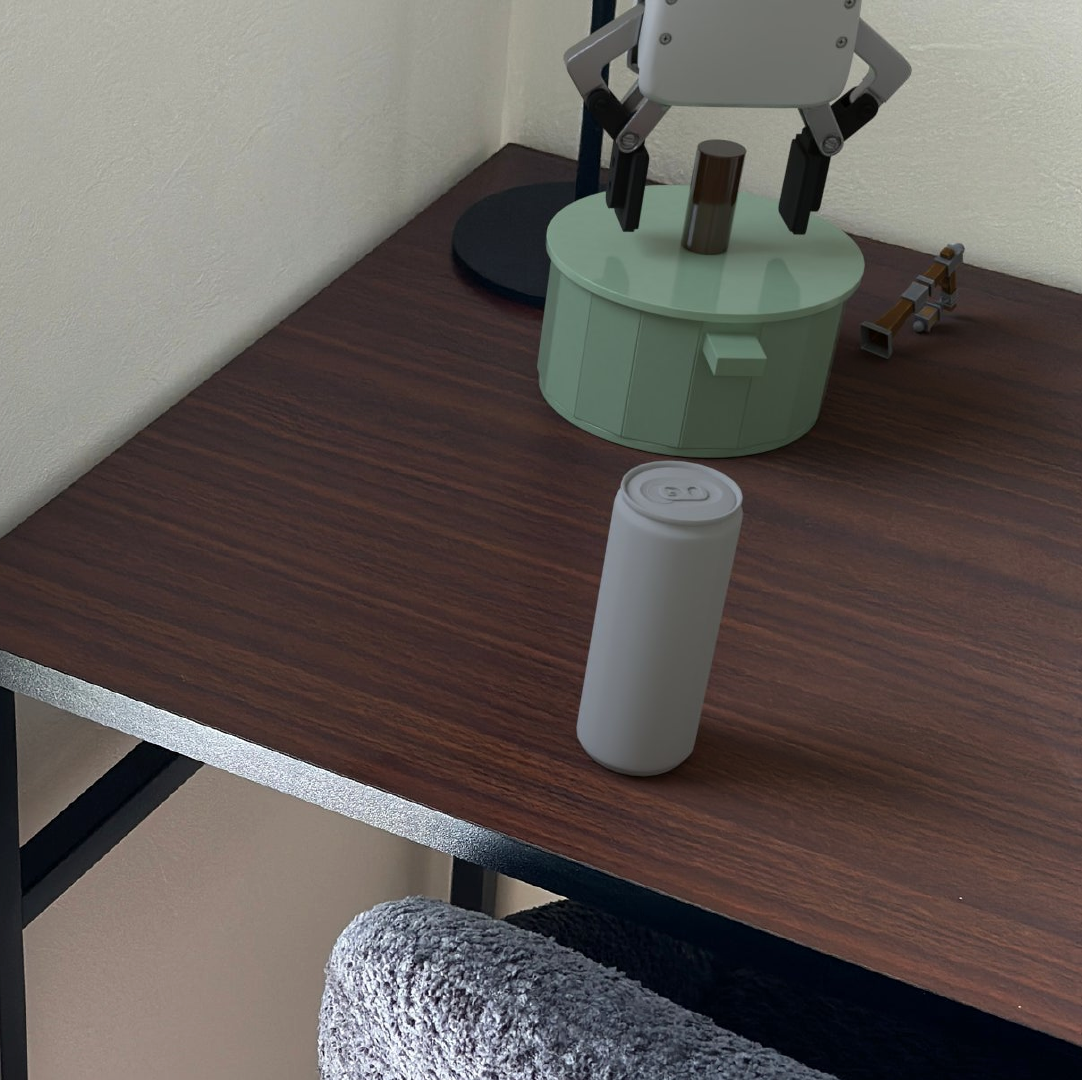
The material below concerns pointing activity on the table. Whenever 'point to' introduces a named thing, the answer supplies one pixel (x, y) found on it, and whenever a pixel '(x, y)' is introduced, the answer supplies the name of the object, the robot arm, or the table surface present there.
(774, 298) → the lid
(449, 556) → the table surface
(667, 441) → the pot
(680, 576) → the beverage can
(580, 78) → the robot arm
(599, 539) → the table surface
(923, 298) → the toy blunderbuss gun
